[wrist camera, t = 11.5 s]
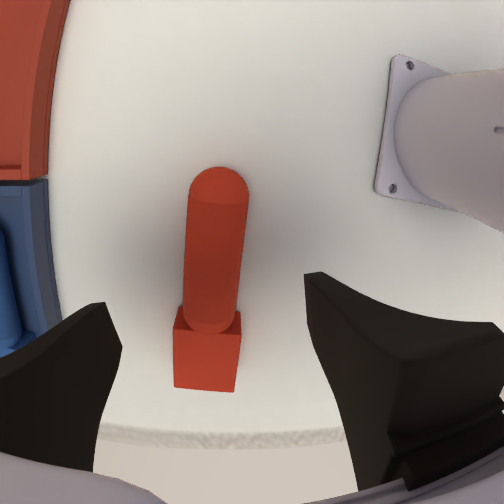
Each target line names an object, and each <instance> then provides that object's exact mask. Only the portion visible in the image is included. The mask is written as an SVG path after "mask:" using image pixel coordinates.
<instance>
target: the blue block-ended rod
mask: <svg viewBox="0 0 504 504" xmlns="http://www.w3.org/2000/svg"><path fill="white" fill-rule="evenodd" d="M35 339H36V335H35V332H32V331H28V330H24V329H22V325H21V321H20V317H19V313H18V309H17V304H16V300H15V295H14V291H13V286H12V280H11V275H10V269H9V264H8V257H7V250H6V243H5V237H4V234H3V232H2V230H1V229H0V358H1V357H3V356H6V355H8V354H10V353H12V352H14V351H16V350H17V349H19V348H21V347H23V346H25V345H26V344H28V343H30V342H31V341H33V340H35Z"/></svg>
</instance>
